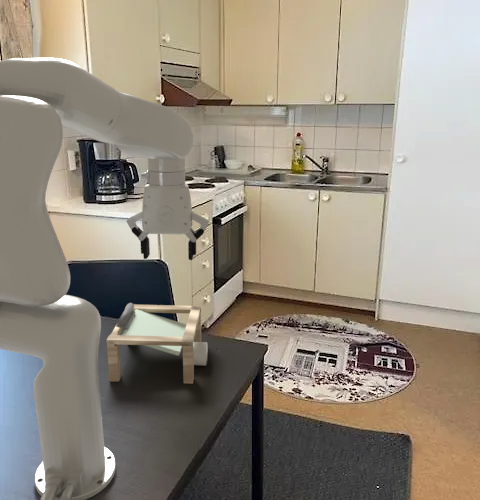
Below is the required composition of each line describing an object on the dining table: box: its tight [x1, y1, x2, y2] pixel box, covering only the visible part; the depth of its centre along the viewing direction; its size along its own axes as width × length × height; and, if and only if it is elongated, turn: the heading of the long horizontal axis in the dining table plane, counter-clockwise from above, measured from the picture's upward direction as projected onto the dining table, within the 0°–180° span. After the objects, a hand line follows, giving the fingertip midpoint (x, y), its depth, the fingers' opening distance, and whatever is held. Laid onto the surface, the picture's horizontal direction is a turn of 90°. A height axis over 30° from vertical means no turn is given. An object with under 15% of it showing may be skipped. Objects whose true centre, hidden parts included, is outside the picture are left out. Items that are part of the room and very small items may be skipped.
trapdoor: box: [115, 302, 187, 357], centre depth 113 cm, size 13×15×3 cm
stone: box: [193, 341, 209, 366], centre depth 114 cm, size 5×5×5 cm
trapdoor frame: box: [106, 303, 202, 385], centre depth 114 cm, size 18×18×10 cm
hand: (168, 257), depth 108 cm, fingers open, 9 cm apart
